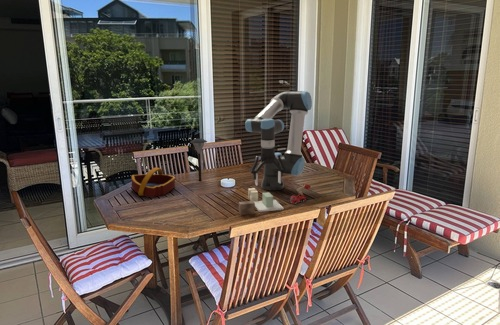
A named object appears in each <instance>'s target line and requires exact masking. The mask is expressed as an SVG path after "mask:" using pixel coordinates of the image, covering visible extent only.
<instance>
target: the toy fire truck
mask: <svg viewBox="0 0 500 325" xmlns="http://www.w3.org/2000/svg"><path fill="white" fill-rule="evenodd" d="M303 189H305V190H310V189H311V185H309V184H306V183H304V184H302V186H300V187H299V188H297V189H296V192H297V193H298V194H297V195H291V196H290V200H289V202H290V203H291V204H293V205H294V204H295V205H297V204H298V203H304V202H305V201H306V200H307V199H306V196H305V195H304V193H303V191H302V190H303Z"/></svg>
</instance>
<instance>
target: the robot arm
mask: <svg viewBox="0 0 500 325" xmlns="http://www.w3.org/2000/svg"><path fill="white" fill-rule="evenodd" d="M312 99H313V98H312V96H311V93H310V92H309V91H305V90H304V91H303V90H301V91H300V90H298V91H297V90H293V91H291V90H287V91H282V92H280V93H278V94H277V95H275V96H274V97H272V98H271V99H270V101H269V104H267V105H266V106H265V107H264V108H263V109H262V110H261V111H260V112H259V113H258V114H257V115H256V116H255V117H254V118H247V119H246V120H245V124H244V126H245V130H246V132H249V133H259V134H260V147H261V148H260V156H257V155H256V156H255V159H254V162H253V163H252V166H251V168H250V170H249V172H250V173H251V174H252V175H253V180H254V184H255V186H257V187H258V185H259V182H258V181H259V178H258V177H259V176H258V172H259V171H260V170H261V169H262V167H263V178H262V181H261V184H260V188H261V189H262V190H266V191H280V190H283V189H284V187H285V186H284V185H285V184H284V180H283V175H290V176H299V175H301V174H302V172H303V171H304V168H305V164H306V162H305V161H306V160H305V158H304V157H303V154H302V153H301V151H302V143H303V134H304V133H303V132H304V126H305V117H306V115H307V114H308V111H310V110H311V109H312V106H313V102H312V101H313V100H312ZM282 110H289V113H290V114H291V117H290V124H289V125H290V126H289V134H288V142H287V149H286V151H285V152H284V155H282V152H275V150H276V149H275V145H276V144H275V143H276V141H275V140H276V139H275V138H276V136H275V135H276V134H279V133H281V132H283V130H284V129H285V123H284V121H283V120H281V119H274V117H275V115H277V114H278V112H280V111H282ZM259 161H260V162H259Z"/></svg>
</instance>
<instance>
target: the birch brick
mask: <svg viewBox="0 0 500 325" xmlns="http://www.w3.org/2000/svg"><path fill="white" fill-rule="evenodd" d="M247 198H248V200H249V201H253V202H254V201H259V191H258V190H257V189H256V188H255V187H252V188H250V187H249V188H247Z"/></svg>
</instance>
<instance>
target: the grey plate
mask: <svg viewBox="0 0 500 325" xmlns="http://www.w3.org/2000/svg"><path fill="white" fill-rule="evenodd" d="M254 203H255V209H257V211H258V212H259V213H261V212H270V211H272V212H274V211H283V210H284V207H283V206H282V205H281V204H280V202H279V201H278V200H276V199H273V207H266V206H265V205H264V204H263V203H262V200H258V201H254Z"/></svg>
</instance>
